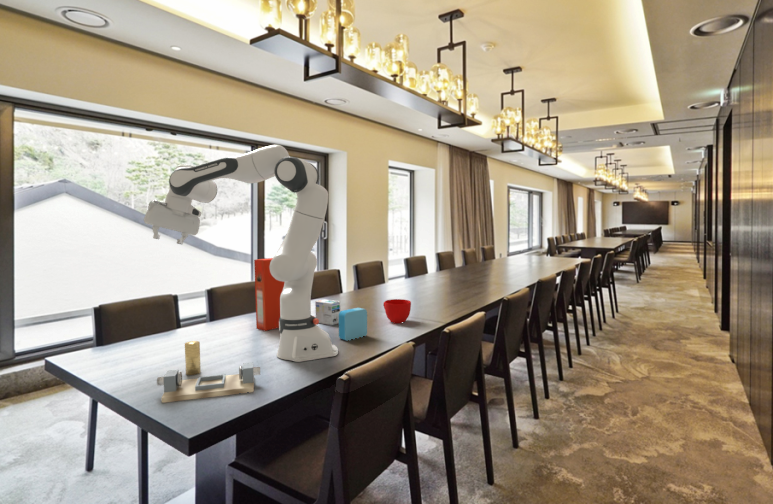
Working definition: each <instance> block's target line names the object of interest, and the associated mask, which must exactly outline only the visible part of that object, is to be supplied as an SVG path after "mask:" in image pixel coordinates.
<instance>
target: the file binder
mask: <svg viewBox="0 0 773 504" xmlns="http://www.w3.org/2000/svg"><path fill="white" fill-rule="evenodd" d="M273 258H274V257H271V258H270V257H269V258H259V259H253V260H254V261H253V262H254V263H253V264H254V267H253V268H254V289H255V290H254V291H255V294H254V296H255V297H254V298H255V318H256V319H255V320H256V321H255V322H256V326H255V327H256V329H258V330H261V331H263V332H264V331H265V332H266V331H267V332H268V331H271V330H275V329H279V318H280V295H281V293H282V291H283V287H284V283H285V282H282V281H278V280H276V279H275V278H274V277H273V276H272V275H271V272H270V262H271V260H272V259H273Z"/></svg>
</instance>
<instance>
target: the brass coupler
mask: <svg viewBox="0 0 773 504" xmlns="http://www.w3.org/2000/svg"><path fill="white" fill-rule="evenodd" d="M184 359H185V360H184V361H185V375H186V376H195V375H200V374H201V373H202V370H201V366H202V365H201V344H200V341H198V340H191V341H187V342H185V343H184Z"/></svg>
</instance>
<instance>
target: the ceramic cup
mask: <svg viewBox="0 0 773 504" xmlns="http://www.w3.org/2000/svg"><path fill="white" fill-rule="evenodd" d="M411 307H412V301H411V300H408V299H402V298H399V299H398V298H395V299H387V300H385V301H384V302H383V308H384V312H385V316H386V318H387V319H388V320H389V321H390V323H392V322H393V323H392V324H403V323H402V322H404V323H405V322H406V321H407V320H408V319H409V316H410V313H411Z"/></svg>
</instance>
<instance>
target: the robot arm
mask: <svg viewBox="0 0 773 504" xmlns="http://www.w3.org/2000/svg"><path fill="white" fill-rule="evenodd" d="M274 177H275V179H276V181H278V183H279V184H281V185H282V186H284V187H285V188H286V189H288V191H290V192H291V193H294V194H295V193H296V196H297V197H296V198H297V199H296V203H295V206H294V211H293V214H292V217H291V221H290V224H289V227H288V230H287V233H286V235H285V236H284V238H283V241H282V242H281V244H280V247H279V249H278V250H277V252H276V254H275V255H274V256H273V257H272V258H273V259H272V260H271V262H270V272H271V275H272V276H273V277H274V278H275V279H276V280H278V281H282V282H285V283H284V287H283V291H282V293H281V295H280V318H279V328H278V331H279V333H280V334H279V342H278V348H277V353H276V357H277V358H279V359H281V360H286V361H293V362H295V363H301V362H306V361H307V362H308V361H312V360H318V359H319V360H320V359H325V358H331V357H336V356H337V355H338V354H339V348H338V347H337V345H335V344H333V342H332V338H331V336H330V334H329V333H328V332H327V331H325V330H324V329H322V328H321V327H320V326H318V325H319V324H320V323H319V320H318V319H317V318H316V316H315V315H312V307H311V306H312V303H311V301H312V300H311V299H312V298H311V296H312V289H313V282H314V275H315V271H316V268H317V266H318V259H317V257H316V255H315V253H313V251H312V250H313V248H314V247H315V245H316V243H317V241H318V240H319V238H320V236H321V235H320V234H321V231H322V228H323V224H324V221H325V218H326V213H327V209H328V205H329V204H328V203H329V192H328V190H327V189H326V188H325V187H324V186H323V185H321V184H319V181H320V172H319V170H318V168H317V167H316V166H315V165H314V164H312V163H310V162H308V161H306V160H305V159H303V158H299V157H295V156H290V154H289V152H288V150H287V149H286V148H285V147H284V146H283V145H280V144H271V145H268V146H264V147H260V148H257V149H255V150H253V151H250V152H246V153H244V154H240V155H236V156H235V155H234V156H229V157H223V158H218V159H215V160H212V161H208V162H205V163H202V164H199V165H191V164H185V163H184V164H178V165H177V166H175V169H174V170H173V172H171V174H170V175H169V179H168V184H169V190H168V192H167V193H166V197H165V200H164V201H160V200H158V199H157V200H156V199H154V200H150V202H149V203H148V207H147V210H146V212H145V215H144V218H143V222H144V224H146V225H149V226H152V228H151V229H152V232H153V236H152V238H153V239H156V240H160V237H161V234H159V230H160V228H161V229H166V230H171V231H174V232H178V233H181V237H180V238H178V239H177V241H176V244H177V245H183V244H184V241H185V240H186V239H187V238H188V237H189V235H191V236H196V235H197V234H198V233H199V230H200V224H201V219H200V217H201V216H202V212H201V211H200V210H199V209H197V208H196V207H195V206H194V205H192V201H193V200H194V201H196V202H199V203H204V204H209V203H211V202H213V201H214V199H216V197H217V194H218V186H217V183H216V182H215V181H216V180H218V179H229V180H235V181H238V182H242V183H245V184H246V183H247V184H256V183H261V182H264V181H266V180H269V179H271V178H274ZM214 180H215V181H214Z"/></svg>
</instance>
